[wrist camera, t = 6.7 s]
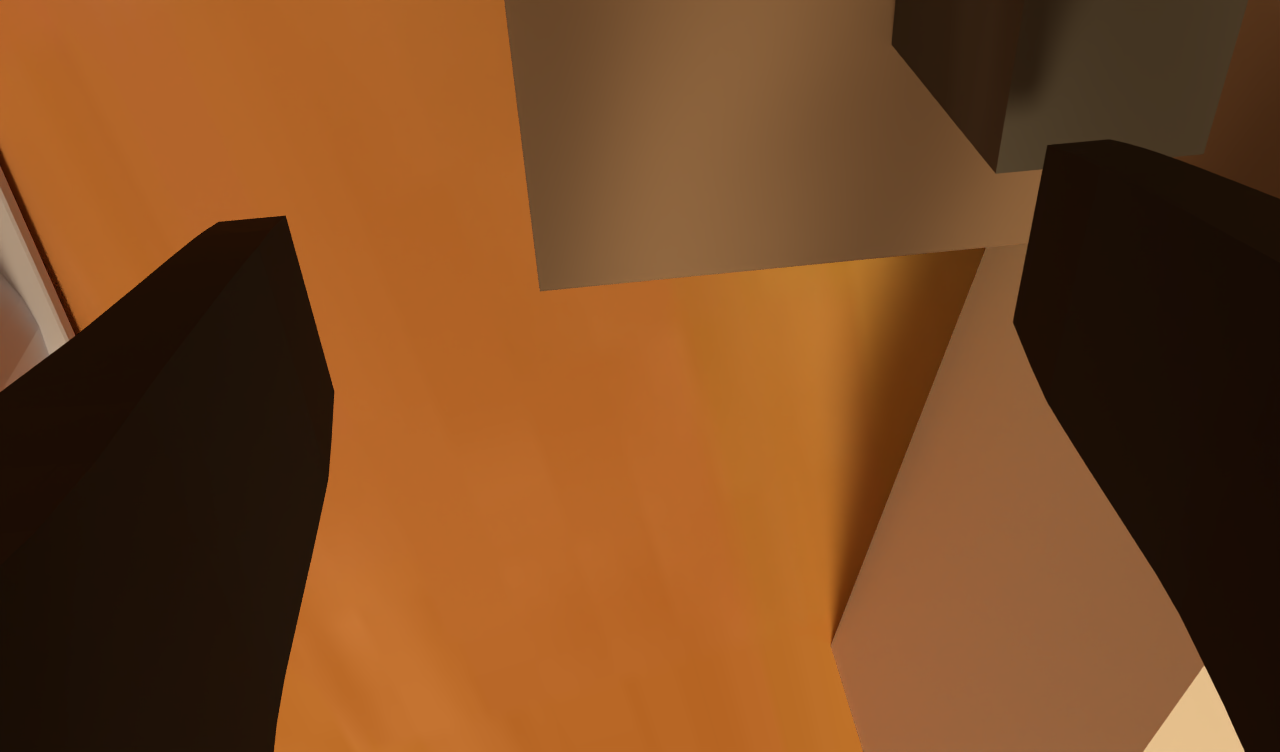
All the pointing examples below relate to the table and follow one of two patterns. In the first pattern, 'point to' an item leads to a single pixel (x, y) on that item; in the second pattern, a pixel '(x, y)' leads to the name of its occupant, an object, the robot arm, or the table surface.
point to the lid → (858, 121)
